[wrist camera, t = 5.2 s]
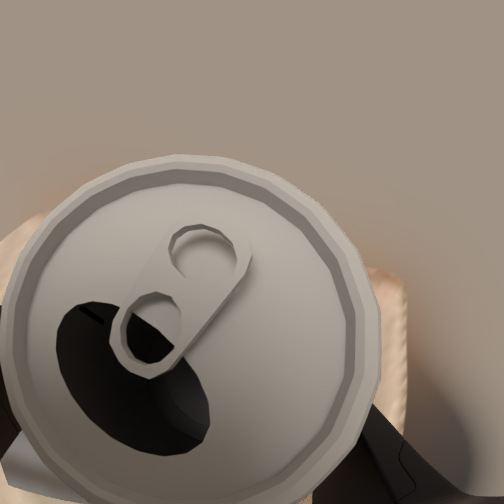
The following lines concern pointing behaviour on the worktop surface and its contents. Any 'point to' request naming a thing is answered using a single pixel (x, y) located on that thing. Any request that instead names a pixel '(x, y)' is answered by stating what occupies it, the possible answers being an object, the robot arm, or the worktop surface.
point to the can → (190, 337)
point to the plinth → (34, 472)
